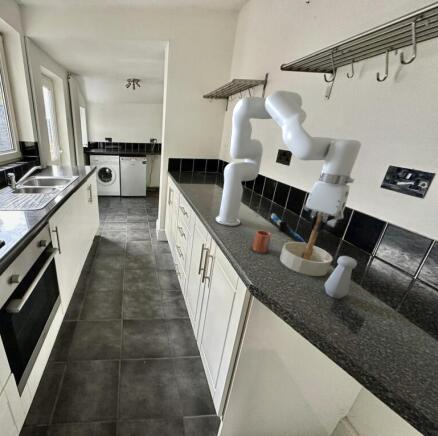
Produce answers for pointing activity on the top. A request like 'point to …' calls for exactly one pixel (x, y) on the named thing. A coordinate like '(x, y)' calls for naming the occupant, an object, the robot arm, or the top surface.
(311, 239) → the wooden spoon
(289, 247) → the bowl
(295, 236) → the knife
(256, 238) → the pot
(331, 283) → the salt shaker
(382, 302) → the top surface
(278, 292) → the top surface
